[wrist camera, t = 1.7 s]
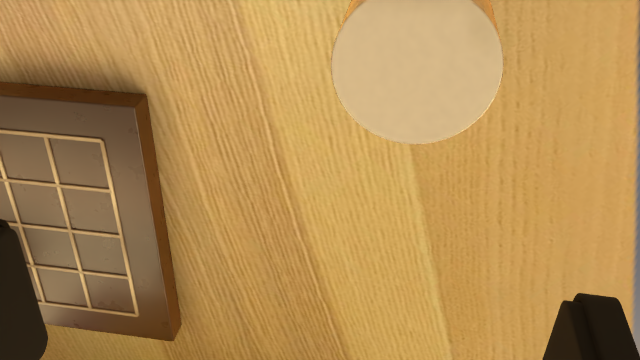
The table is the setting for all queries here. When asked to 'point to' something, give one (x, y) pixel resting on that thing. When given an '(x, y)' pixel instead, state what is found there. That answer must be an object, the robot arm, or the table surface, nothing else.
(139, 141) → the board
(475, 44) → the beige short cylinder
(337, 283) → the table surface
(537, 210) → the table surface
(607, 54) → the table surface
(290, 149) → the table surface
